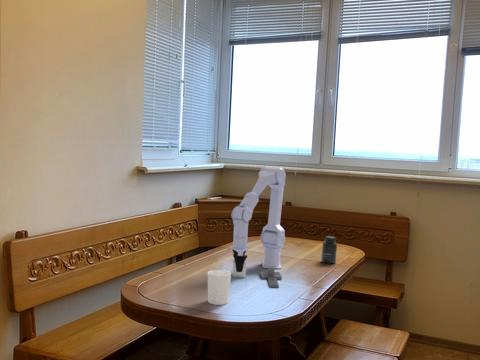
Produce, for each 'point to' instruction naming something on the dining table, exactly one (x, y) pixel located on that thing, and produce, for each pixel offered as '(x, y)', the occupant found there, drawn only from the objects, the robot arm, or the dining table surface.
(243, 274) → the brushed metal cube
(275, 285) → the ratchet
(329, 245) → the supplement bottle
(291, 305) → the dining table surface
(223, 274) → the white cup
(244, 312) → the dining table surface
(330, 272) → the dining table surface
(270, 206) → the robot arm
